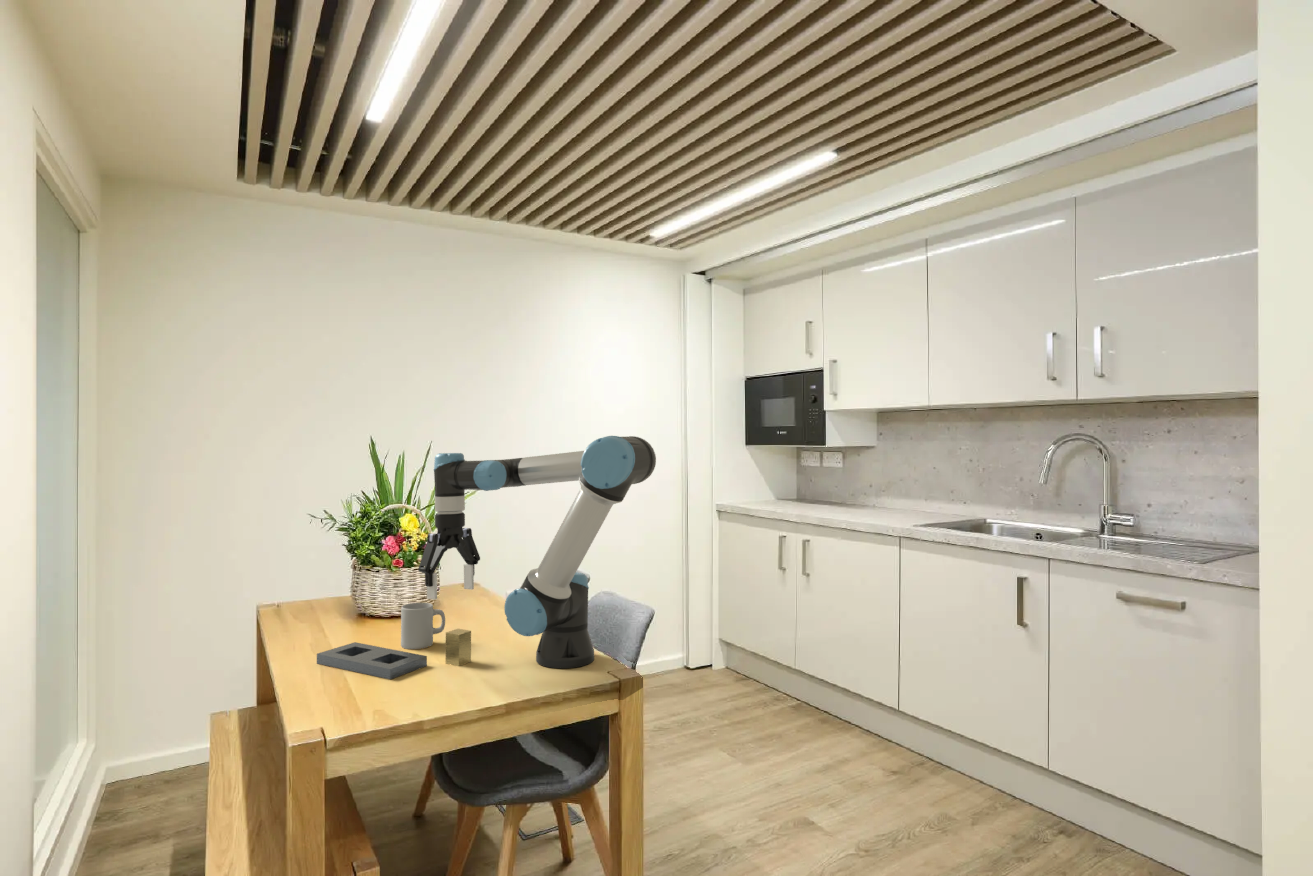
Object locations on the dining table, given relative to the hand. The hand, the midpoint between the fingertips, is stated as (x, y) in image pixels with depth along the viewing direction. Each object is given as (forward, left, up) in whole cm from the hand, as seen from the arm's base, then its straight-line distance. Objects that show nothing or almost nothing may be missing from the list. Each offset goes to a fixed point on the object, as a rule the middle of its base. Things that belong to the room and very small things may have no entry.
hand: (450, 594), depth 195 cm
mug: (+17, -8, -18) cm, 26 cm away
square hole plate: (+15, +12, -17) cm, 26 cm away
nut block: (-3, 0, -17) cm, 18 cm away
